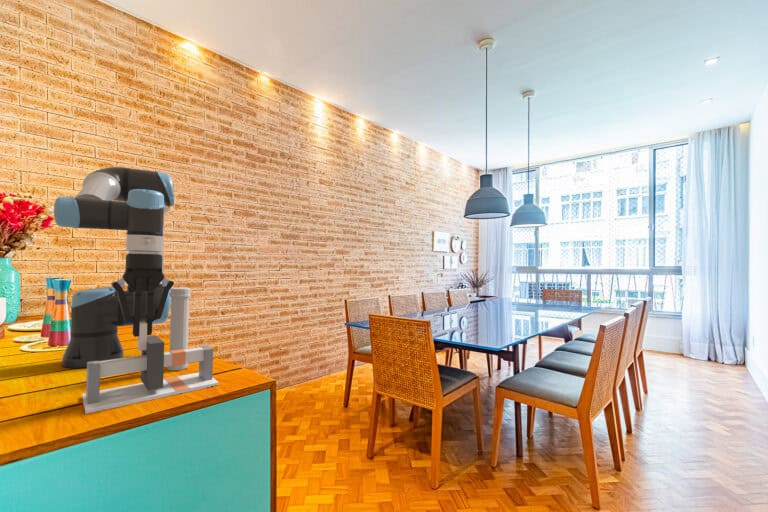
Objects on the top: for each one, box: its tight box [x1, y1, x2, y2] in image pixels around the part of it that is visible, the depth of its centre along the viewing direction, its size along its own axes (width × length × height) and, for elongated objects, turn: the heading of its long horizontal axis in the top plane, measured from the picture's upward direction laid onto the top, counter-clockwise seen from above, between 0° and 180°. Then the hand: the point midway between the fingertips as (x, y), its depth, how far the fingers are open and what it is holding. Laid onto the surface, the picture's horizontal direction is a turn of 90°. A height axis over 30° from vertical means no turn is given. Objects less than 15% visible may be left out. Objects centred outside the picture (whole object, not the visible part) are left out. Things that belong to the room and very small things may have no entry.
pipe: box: [167, 268, 191, 372], centre depth 108 cm, size 6×6×30 cm
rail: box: [81, 345, 220, 415], centre depth 89 cm, size 12×27×9 cm, turn 133°
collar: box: [140, 334, 165, 391], centre depth 89 cm, size 10×3×11 cm, turn 43°
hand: (141, 349), depth 87 cm, fingers closed
